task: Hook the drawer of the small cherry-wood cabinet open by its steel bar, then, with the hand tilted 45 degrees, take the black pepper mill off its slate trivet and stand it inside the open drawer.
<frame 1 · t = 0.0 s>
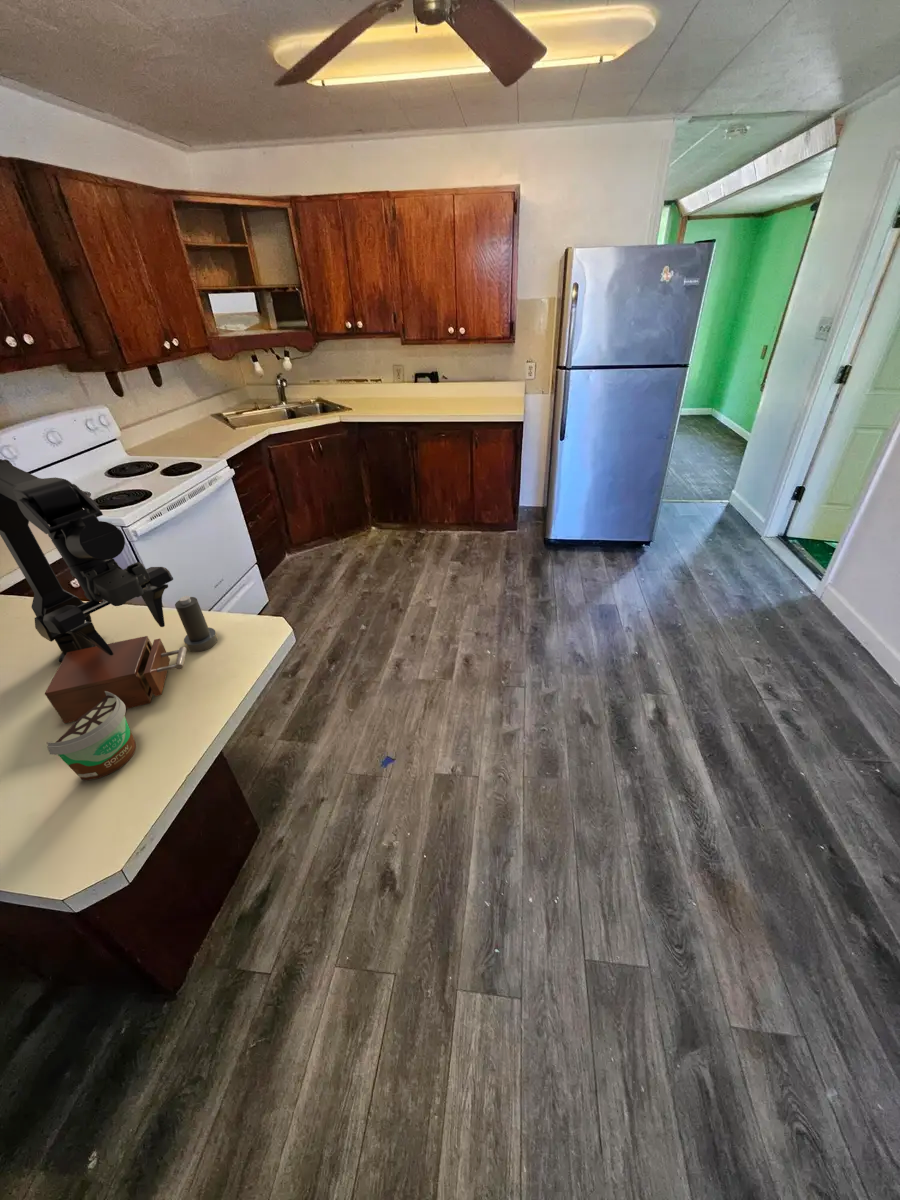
hand: (138, 640, 85), 15 cm above the countertop, tool pointing down, fingers open, 9 cm apart
food container: (119, 759, 82), on the countertop
pepper mill: (199, 635, 108), point 2 cm above the countertop, touching trivet
trivet: (202, 642, 109), on the countertop
cabinet: (116, 691, 97), on the countertop
drawer: (136, 670, 96), point 4 cm above the countertop, slide at 1.0 cm
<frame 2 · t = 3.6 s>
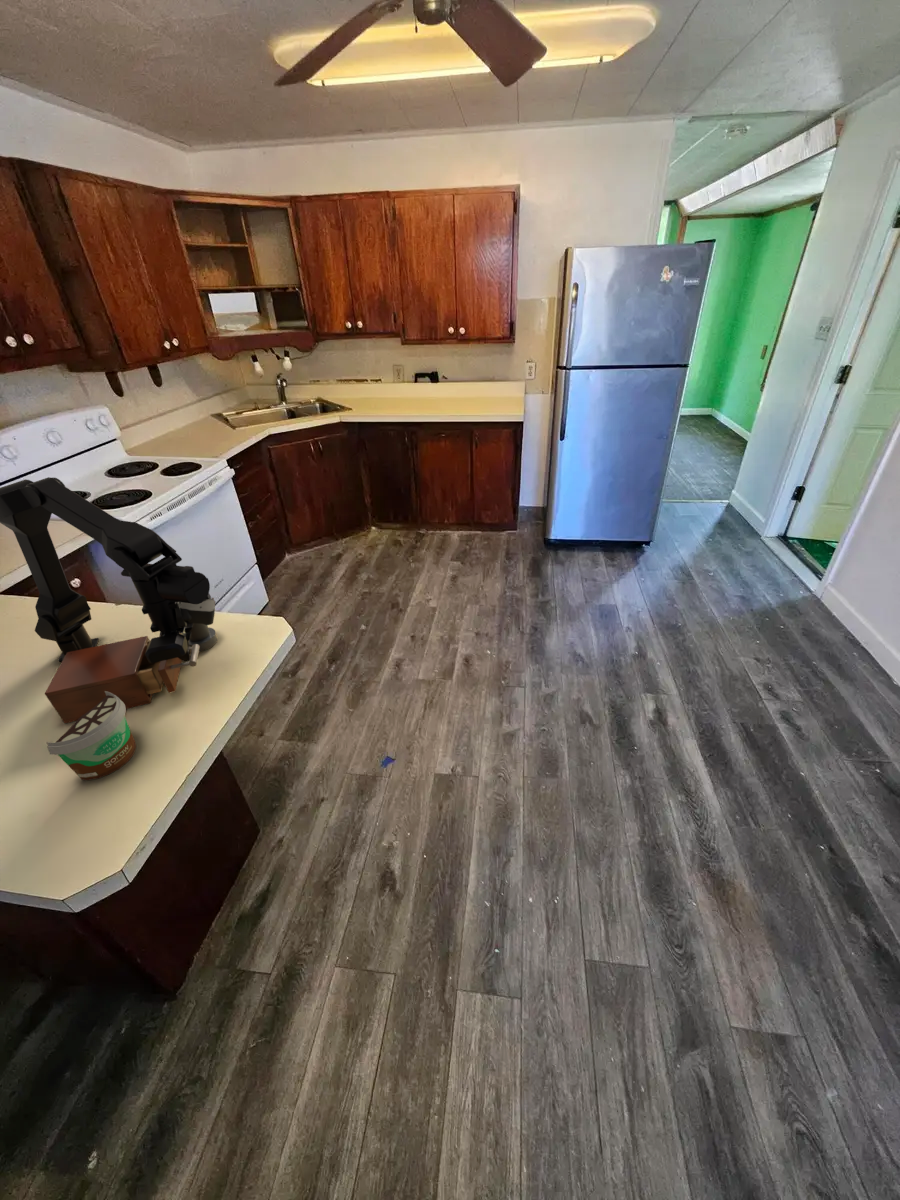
hand: (187, 660, 98), 4 cm above the countertop, tool pointing down, fingers closed, pressing on drawer
drawer: (150, 667, 97), point 4 cm above the countertop, slide at 3.5 cm, touching gripper
everything else where it was.
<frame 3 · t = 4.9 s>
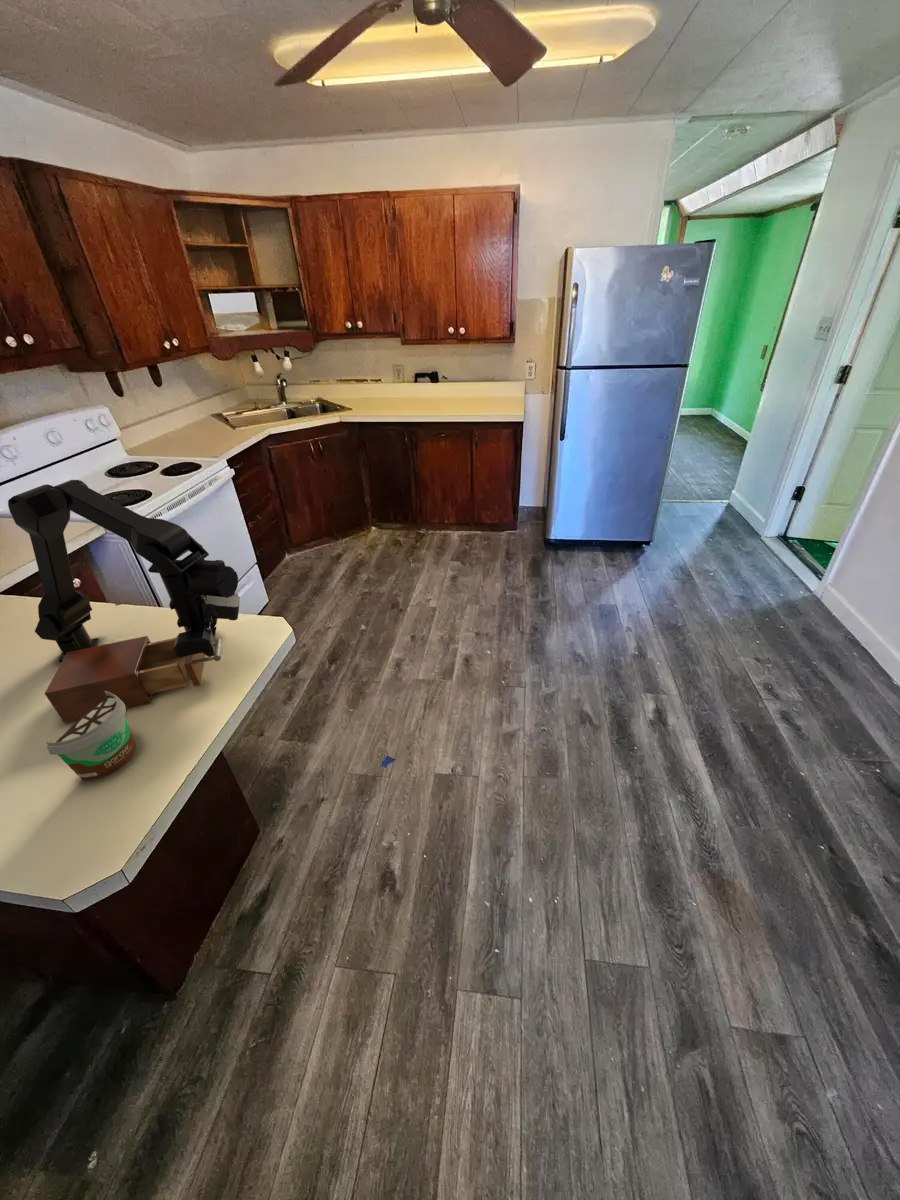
hand: (211, 655, 100), 4 cm above the countertop, tool pointing down, fingers closed
drawer: (175, 662, 98), point 4 cm above the countertop, slide at 8.1 cm
everything else where it was.
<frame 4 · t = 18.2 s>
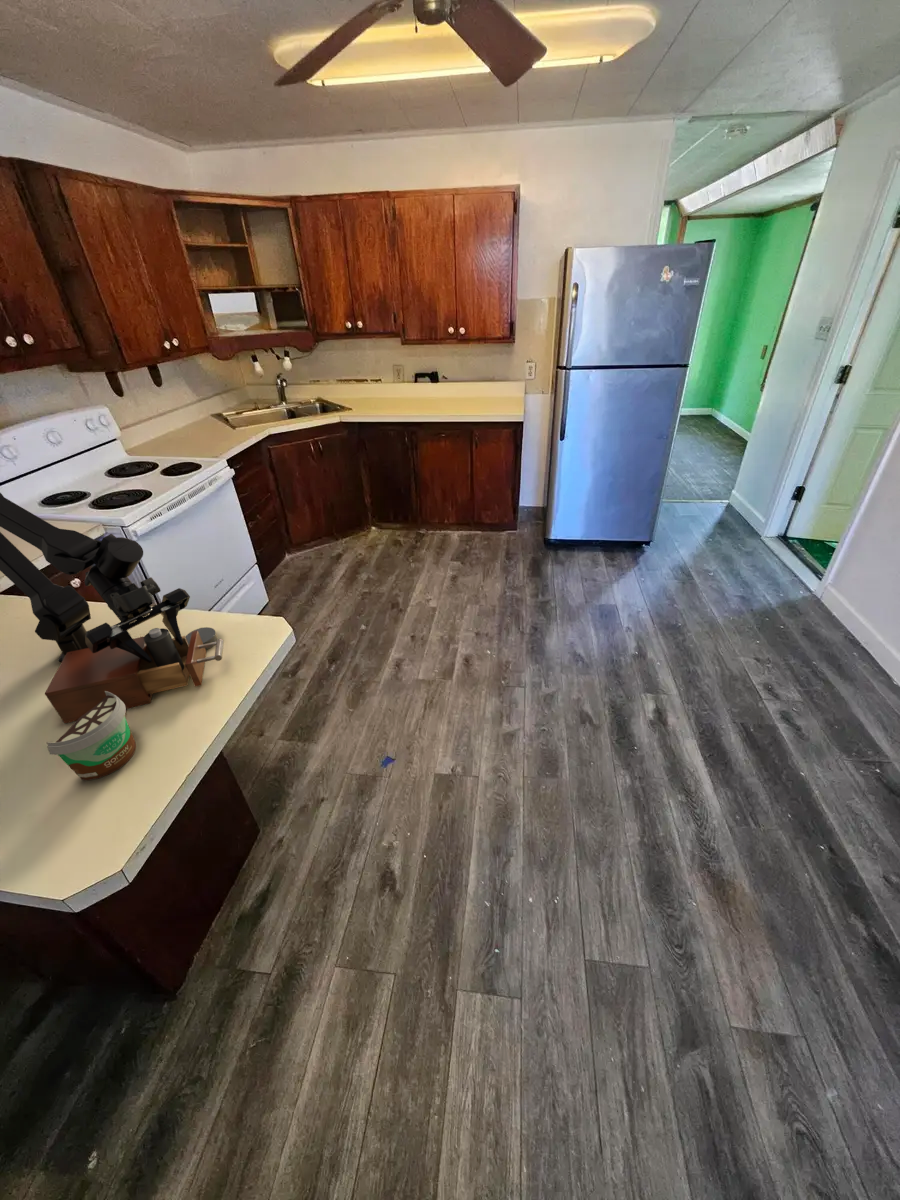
hand: (167, 653, 95), 7 cm above the countertop, tool tilted 45°, fingers open, 6 cm apart
pepper mill: (172, 670, 99), point 2 cm above the countertop, touching drawer
drawer: (176, 662, 98), point 4 cm above the countertop, slide at 8.3 cm, touching pepper mill
everything else where it was.
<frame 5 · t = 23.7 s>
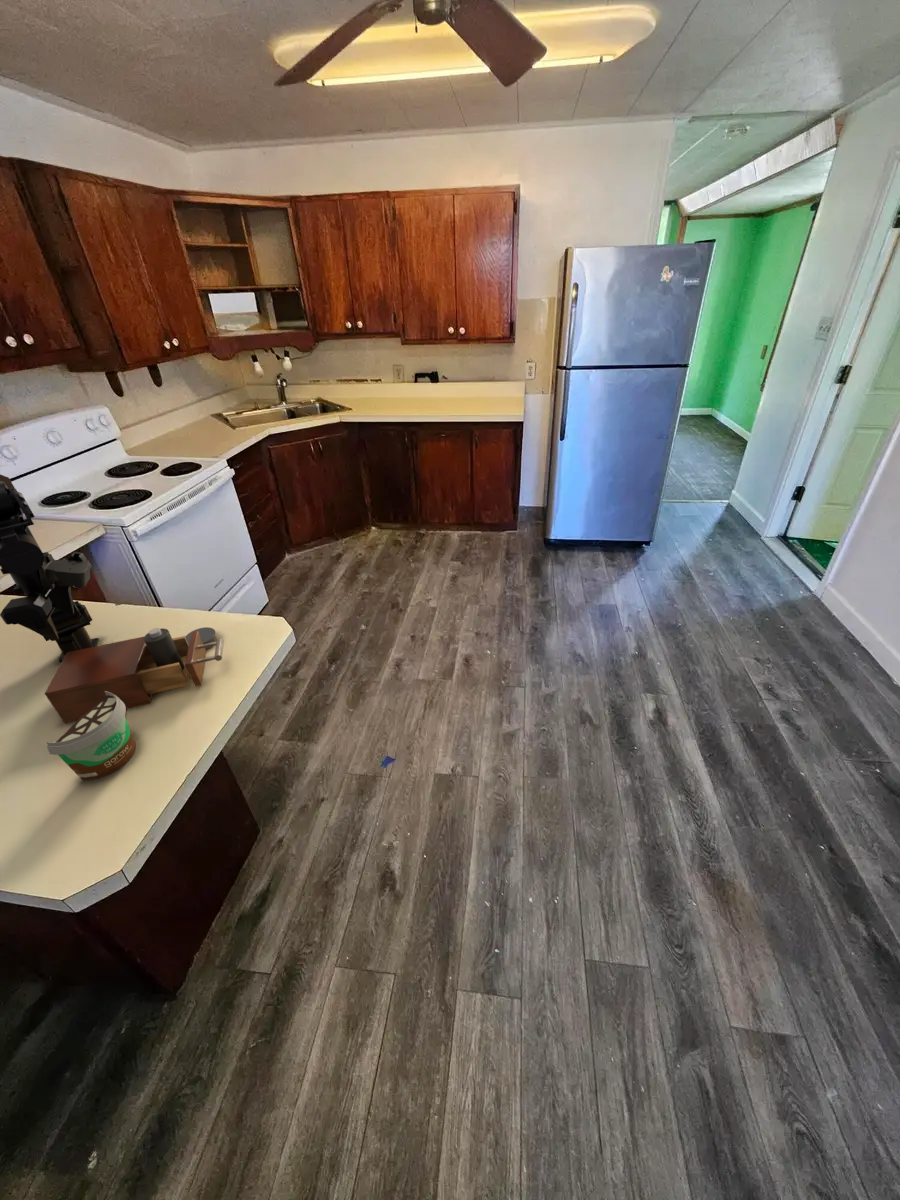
hand: (63, 626, 94), 13 cm above the countertop, tool pointing down, fingers open, 9 cm apart
nothing on the countertop moved.
at the end: drawer slide at 8.3 cm; pepper mill inside the target area in the drawer (0.1 cm from its centre), point 2.0 cm above the cabinet's base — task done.
